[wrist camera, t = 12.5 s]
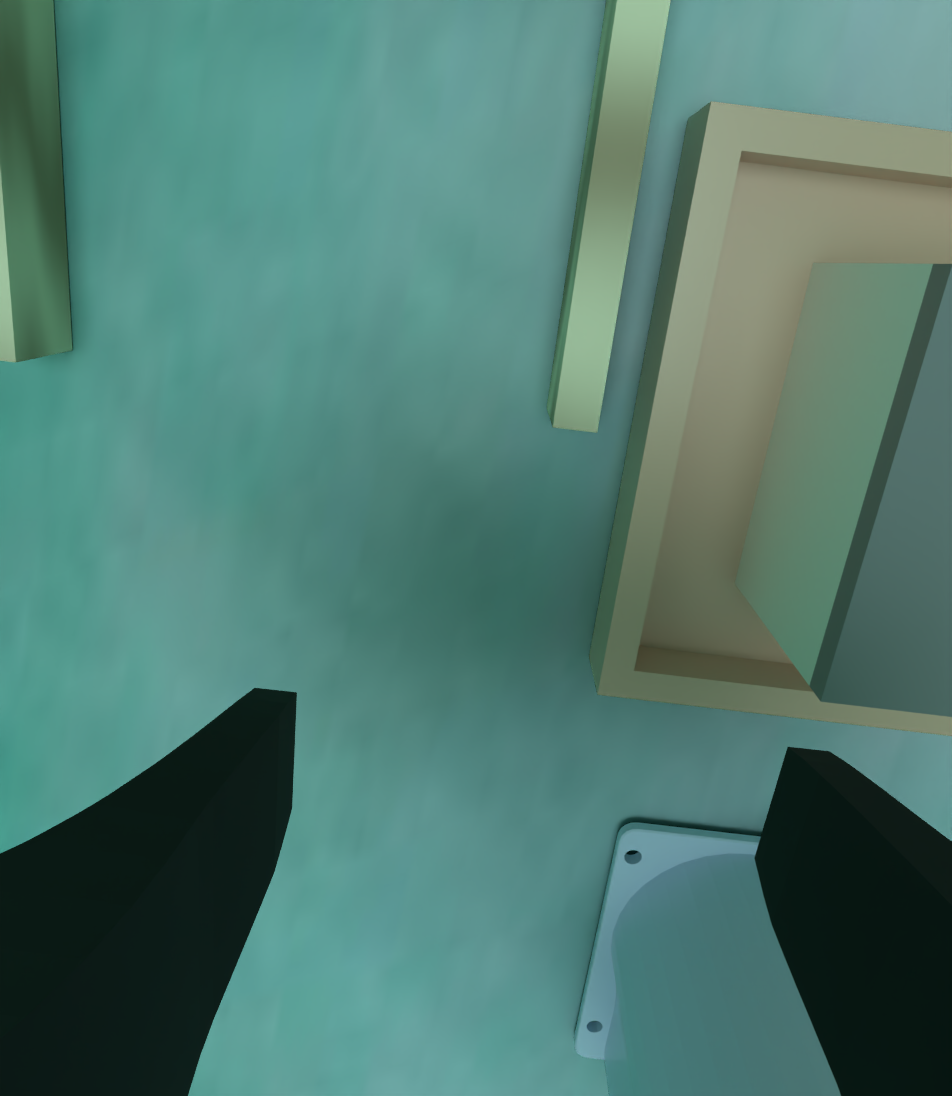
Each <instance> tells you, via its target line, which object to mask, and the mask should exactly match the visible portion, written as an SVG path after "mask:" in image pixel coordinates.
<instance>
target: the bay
mask: <svg viewBox="0 0 952 1096" xmlns="http://www.w3.org/2000/svg"><path fill="white" fill-rule="evenodd" d="M670 1H671V0H606V6H605V13H604V20H603V27H602V34H601V40H600V47H599V54H598V61H597V68H596V75H595V81H594V88H593V95H592V102H591V109H590V116H589V122H588V129H587V136H586V143H585V150H584V156H583V163H582V170H581V177H580V184H579V191H578V197H577V204H576V211H575V218H574V225H573V232H572V238H571V245H570V252H569V259H568V266H567V273H566V279H565V286H564V293H563V300H562V307H561V313H560V320H559V327H558V334H557V341H556V348H555V354H554V361H553V368H552V375H551V382H550V389H549V395H548V402H547V411H548V414H549V417H550V420H551V423H552V426H553V427H554V428H562V429H570V430H579V431H587V432H595V433H597V431H598V425H599V419H600V413H601V407H602V401H603V395H604V390H605V384H606V378H607V372H608V366H609V360H610V354H611V348H612V342H613V337H614V331H615V325H616V319H617V313H618V307H619V301H620V295H621V289H622V284H623V278H624V272H625V266H626V260H627V254H628V248H629V242H630V236H631V231H632V225H633V219H634V213H635V207H636V201H637V195H638V189H639V183H640V178H641V172H642V166H643V160H644V154H645V148H646V142H647V136H648V131H649V125H650V119H651V113H652V107H653V101H654V95H655V89H656V83H657V78H658V72H659V66H660V60H661V54H662V48H663V42H664V36H665V30H666V25H667V19H668V13H669V7H670ZM67 351H72V332H71V314H70V296H69V277H68V259H67V241H66V223H65V204H64V186H63V168H62V149H61V131H60V113H59V95H58V76H57V58H56V40H55V22H54V3H53V0H0V361H9V362H20V361H25V360H29V359H34V358H39V357H44V356H48V355H53V354H58V353H63V352H67Z"/></svg>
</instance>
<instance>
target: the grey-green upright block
mask: <svg viewBox="0 0 952 1096" xmlns="http://www.w3.org/2000/svg"><path fill="white" fill-rule="evenodd" d="M735 585H736V586H737V587H738V589H739V590H740V591H741V593H742V594H743V596H744V597H745V598H746V600H747V601H748V602H749V604H750V605H751V607H752V608H753V609H754V611H755V612H756V613H757V615H758V616H759V618H760V619H761V620H762V622H763V623H764V624H765V626H766V627H767V629H768V630H769V631H770V633H771V634H772V635H773V637H774V638H775V640H776V641H777V642H778V644H779V645H780V646H781V648H782V649H783V651H784V652H785V653H786V655H787V656H788V657H789V659H790V660H791V662H792V663H793V664H794V666H795V667H796V668H797V670H798V671H799V673H800V674H801V675H802V677H803V678H804V679H805V681H806V682H807V684H808V685H809V686H810V688H811V689H812V690H813V692H814V693H815V695H816V696H817V697H818V699H819V700H820V701H821V702H828V703H836V704H845V705H853V706H862V707H870V708H879V709H888V710H896V711H905V712H913V713H922V714H930V715H939V716H947V717H952V264H904V263H813V265H812V269H811V273H810V278H809V282H808V286H807V290H806V294H805V298H804V302H803V306H802V310H801V314H800V318H799V322H798V327H797V331H796V335H795V339H794V343H793V347H792V351H791V355H790V359H789V363H788V367H787V371H786V376H785V380H784V384H783V388H782V392H781V396H780V400H779V404H778V408H777V412H776V416H775V420H774V425H773V429H772V433H771V437H770V441H769V445H768V449H767V453H766V457H765V461H764V465H763V469H762V474H761V478H760V482H759V486H758V490H757V494H756V498H755V502H754V506H753V510H752V514H751V518H750V523H749V527H748V531H747V535H746V539H745V543H744V547H743V551H742V555H741V559H740V563H739V567H738V572H737V576H736V580H735Z"/></svg>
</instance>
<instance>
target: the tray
mask: <svg viewBox="0 0 952 1096" xmlns="http://www.w3.org/2000/svg"><path fill="white" fill-rule="evenodd" d="M813 263H904V264H952V132H948V131H941V130H933V129H925V128H917V127H909V126H901V125H893V124H885V123H877V122H870V121H862V120H854V119H846V118H838V117H830V116H822V115H814V114H806V113H799V112H791V111H783V110H775V109H767V108H759V107H751V106H743V105H735V104H728V103H720V102H712V101H711V102H710V103H708V104H707V105H706V106H704V107H703V108H702V109H700V110H699V111H698V112H696V113H695V114H694V115H693V116H691V117H690V118H689V119H688V121H687V127H686V132H685V138H684V143H683V148H682V154H681V159H680V165H679V170H678V176H677V181H676V186H675V192H674V197H673V203H672V208H671V214H670V219H669V224H668V230H667V235H666V241H665V246H664V252H663V257H662V263H661V268H660V273H659V279H658V284H657V290H656V295H655V301H654V306H653V311H652V317H651V322H650V328H649V333H648V339H647V344H646V349H645V355H644V360H643V366H642V371H641V377H640V382H639V387H638V393H637V398H636V404H635V409H634V415H633V420H632V425H631V431H630V436H629V442H628V447H627V453H626V458H625V463H624V469H623V474H622V480H621V485H620V491H619V496H618V501H617V507H616V512H615V518H614V523H613V529H612V534H611V539H610V545H609V550H608V556H607V561H606V567H605V572H604V578H603V583H602V588H601V594H600V599H599V605H598V610H597V616H596V621H595V626H594V632H593V637H592V643H591V648H590V654H589V659H590V664H591V668H592V673H593V677H594V681H595V686H596V690H597V695H604V696H613V697H621V698H630V699H638V700H647V701H656V702H664V703H673V704H681V705H690V706H698V707H707V708H715V709H724V710H733V711H741V712H750V713H758V714H767V715H775V716H784V717H793V718H801V719H810V720H818V721H827V722H835V723H844V724H852V725H861V726H870V727H878V728H887V729H895V730H904V731H912V732H921V733H930V734H938V735H947V736H952V717H947V716H939V715H930V714H922V713H913V712H905V711H896V710H888V709H879V708H870V707H862V706H853V705H845V704H836V703H828V702H821V701H820V700H819V699H818V697H817V696H816V695H815V693H814V692H813V690H812V689H811V688H810V686H809V685H808V684H807V682H806V681H805V679H804V678H803V677H802V675H801V674H800V673H799V671H798V670H797V668H796V667H795V666H794V664H793V663H792V662H791V660H790V659H789V657H788V656H787V655H786V653H785V652H784V651H783V649H782V648H781V646H780V645H779V644H778V642H777V641H776V640H775V638H774V637H773V635H772V634H771V633H770V631H769V630H768V629H767V627H766V626H765V624H764V623H763V622H762V620H761V619H760V618H759V616H758V615H757V613H756V612H755V611H754V609H753V608H752V607H751V605H750V604H749V602H748V601H747V600H746V598H745V597H744V596H743V594H742V593H741V591H740V590H739V589H738V587H737V586H736V585H735V580H736V576H737V572H738V567H739V563H740V559H741V555H742V551H743V547H744V543H745V539H746V535H747V531H748V527H749V523H750V518H751V514H752V510H753V506H754V502H755V498H756V494H757V490H758V486H759V482H760V478H761V474H762V469H763V465H764V461H765V457H766V453H767V449H768V445H769V441H770V437H771V433H772V429H773V425H774V420H775V416H776V412H777V408H778V404H779V400H780V396H781V392H782V388H783V384H784V380H785V376H786V371H787V367H788V363H789V359H790V355H791V351H792V347H793V343H794V339H795V335H796V331H797V327H798V322H799V318H800V314H801V310H802V306H803V302H804V298H805V294H806V290H807V286H808V282H809V278H810V273H811V269H812V265H813Z"/></svg>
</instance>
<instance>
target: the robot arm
mask: <svg viewBox="0 0 952 1096" xmlns="http://www.w3.org/2000/svg"><path fill="white" fill-rule="evenodd" d="M296 698H297V693H296V692H287V691H278V690H269V689H260V688H254V689H253V690H251V691H250V692H249V693H247V694H246V695H245V696H243V697H242V698H241V699H239V700H238V701H237V702H235V703H234V704H233V705H232V706H230V707H229V708H228V709H226V710H225V711H224V712H223V713H221V714H220V715H219V716H218V717H216V718H215V719H214V720H213V721H211V722H210V723H209V724H207V725H206V726H205V727H204V728H202V729H201V730H200V731H198V732H197V733H196V734H195V735H193V736H192V737H191V738H189V739H188V740H187V741H185V742H184V743H183V744H181V745H180V746H179V747H177V748H176V749H175V750H173V751H172V752H171V753H169V754H168V755H166V756H165V757H164V758H162V759H161V760H160V761H158V762H157V763H156V764H154V765H153V766H151V767H150V768H148V769H147V770H145V771H144V772H142V773H141V774H139V775H138V776H136V777H135V778H133V779H132V780H130V781H129V782H127V783H126V784H124V785H123V786H121V787H120V788H118V789H117V790H115V791H114V792H112V793H111V794H109V795H108V796H106V797H105V798H103V799H101V800H100V801H98V802H96V803H95V804H93V805H91V806H90V807H88V808H86V809H85V810H83V811H81V812H79V813H78V814H76V815H74V816H73V817H71V818H69V819H67V820H65V821H63V822H62V823H60V824H58V825H56V826H54V827H52V828H51V829H49V830H47V831H45V832H43V833H41V834H40V835H38V836H36V837H34V838H32V839H30V840H28V841H26V842H24V843H22V844H20V845H18V846H16V847H14V848H11V849H9V850H7V851H5V852H3V853H1V854H0V1096H188V1093H189V1090H190V1087H191V1083H192V1080H193V1077H194V1074H195V1071H196V1067H197V1064H198V1061H199V1058H200V1055H201V1052H202V1049H203V1047H204V1044H205V1041H206V1038H207V1036H208V1033H209V1030H210V1028H211V1025H212V1022H213V1019H214V1017H215V1015H216V1012H217V1010H218V1007H219V1005H220V1003H221V1000H222V998H223V995H224V993H225V991H226V988H227V986H228V983H229V981H230V979H231V976H232V974H233V971H234V969H235V966H236V964H237V962H238V959H239V957H240V954H241V952H242V950H243V947H244V945H245V942H246V940H247V938H248V935H249V933H250V930H251V928H252V926H253V923H254V921H255V918H256V916H257V913H258V911H259V909H260V906H261V904H262V901H263V899H264V896H265V894H266V891H267V889H268V887H269V884H270V882H271V879H272V877H273V874H274V871H275V868H276V864H277V861H278V857H279V854H280V850H281V847H282V843H283V840H284V836H285V832H286V829H287V825H288V821H289V817H290V814H291V810H292V795H293V770H294V746H295V722H296ZM630 850H636V851H638V853H636V854H634V855H628V854H626V852H628V851H630ZM591 1021H595V1022H591ZM574 1045H575V1051H576V1052H577V1054H579V1055H580V1056H582V1057H585V1058H592V1059H601V1060H604V1061H605V1069H606V1077H607V1084H608V1092H609V1096H952V841H950V840H949V839H947V838H946V837H945V836H943V835H942V834H941V833H939V832H938V831H937V830H936V829H934V828H933V827H932V826H930V825H929V824H928V823H926V822H925V821H924V820H922V819H921V818H920V817H918V816H917V815H916V814H914V813H913V812H912V811H910V810H909V809H908V808H907V807H905V806H904V805H903V804H901V803H900V802H899V801H897V800H896V799H895V798H893V797H892V796H891V795H890V794H888V793H887V792H886V791H884V790H883V789H882V788H880V787H879V786H878V785H876V784H875V783H874V782H872V781H871V780H870V779H868V778H867V777H866V776H864V775H863V774H862V773H860V772H859V771H858V770H856V769H855V768H853V767H852V766H851V765H849V764H848V763H846V762H845V761H843V760H842V759H840V758H839V757H837V756H836V755H834V754H832V753H831V752H829V751H821V750H812V749H803V748H794V747H788V748H787V751H786V755H785V758H784V761H783V765H782V768H781V771H780V775H779V778H778V781H777V785H776V788H775V791H774V795H773V798H772V801H771V804H770V808H769V811H768V814H767V818H766V821H765V824H764V828H763V831H762V834H761V837H760V836H751V835H742V834H734V833H725V832H716V831H708V830H699V829H690V828H681V827H673V826H664V825H655V824H647V823H638V822H636V823H629V824H626V825H624V826H623V827H622V828H621V829H620V831H619V833H618V836H617V840H616V845H615V850H614V854H613V859H612V863H611V868H610V873H609V877H608V882H607V887H606V891H605V896H604V900H603V905H602V910H601V914H600V919H599V924H598V928H597V933H596V937H595V942H594V947H593V951H592V956H591V960H590V965H589V970H588V974H587V979H586V984H585V988H584V993H583V997H582V1002H581V1007H580V1011H579V1016H578V1021H577V1025H576V1030H575V1034H574Z"/></svg>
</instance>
